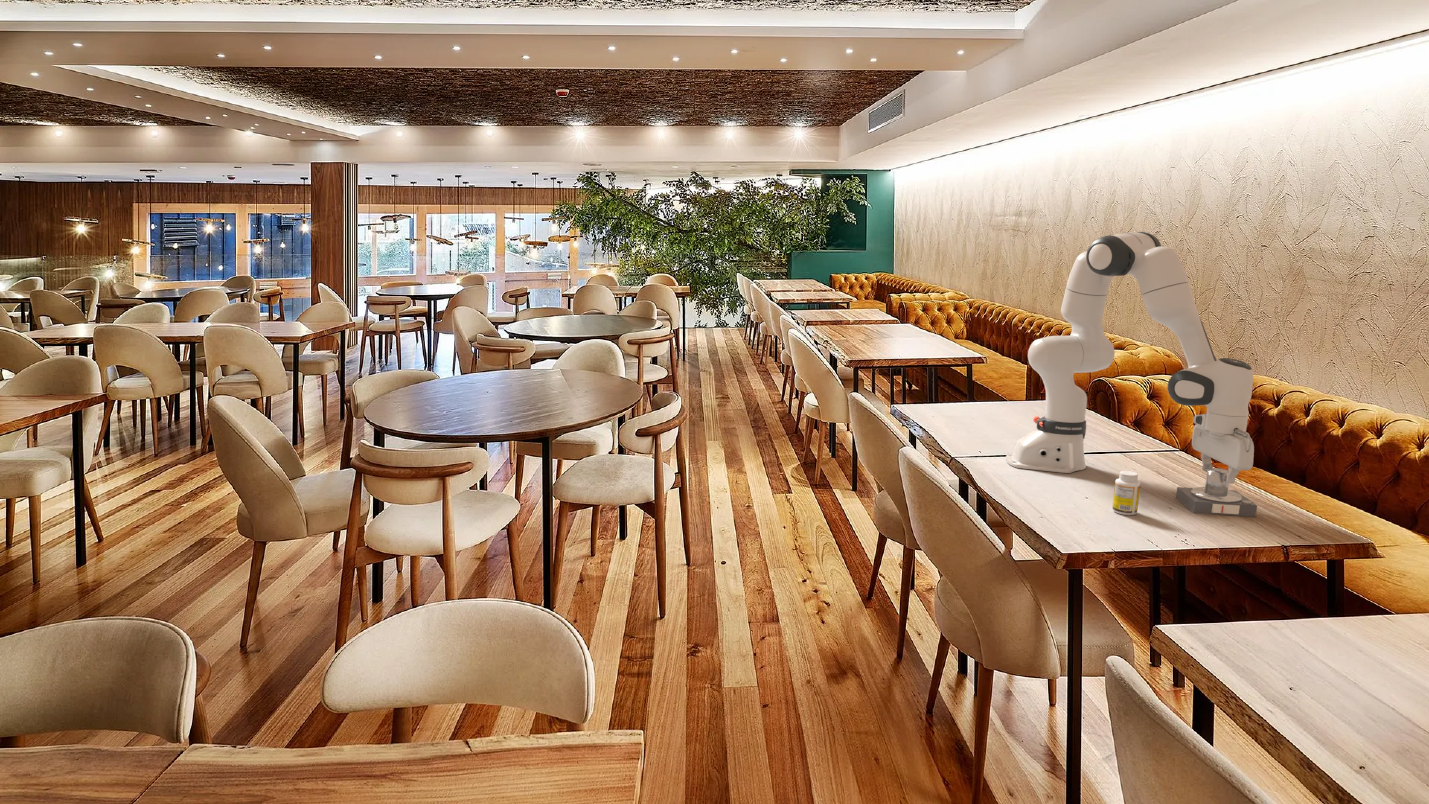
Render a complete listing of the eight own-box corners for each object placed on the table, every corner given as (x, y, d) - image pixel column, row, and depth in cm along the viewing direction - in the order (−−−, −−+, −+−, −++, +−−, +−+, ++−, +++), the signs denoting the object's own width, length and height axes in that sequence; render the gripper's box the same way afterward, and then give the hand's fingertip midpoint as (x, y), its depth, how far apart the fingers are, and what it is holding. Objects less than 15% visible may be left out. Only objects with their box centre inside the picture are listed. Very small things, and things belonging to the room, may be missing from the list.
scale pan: (1201, 501, 202) (1201, 498, 201) (1184, 487, 212) (1184, 485, 212) (1249, 504, 200) (1249, 501, 200) (1230, 490, 210) (1230, 488, 210)
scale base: (1194, 513, 201) (1196, 501, 201) (1175, 497, 214) (1177, 485, 213) (1256, 517, 199) (1258, 504, 198) (1234, 501, 211) (1235, 489, 210)
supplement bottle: (1126, 508, 205) (1131, 469, 203) (1141, 515, 200) (1146, 475, 198) (1107, 509, 204) (1111, 470, 202) (1121, 516, 199) (1126, 476, 197)
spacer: (1211, 496, 203) (1215, 473, 202) (1200, 490, 208) (1203, 467, 207) (1231, 496, 203) (1235, 473, 202) (1219, 490, 208) (1222, 468, 207)
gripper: (1265, 434, 192) (1256, 490, 195) (1214, 414, 212) (1207, 465, 215) (1238, 434, 192) (1230, 489, 195) (1190, 414, 212) (1183, 465, 215)
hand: (1217, 477), depth 205 cm, fingers open, 8 cm apart
